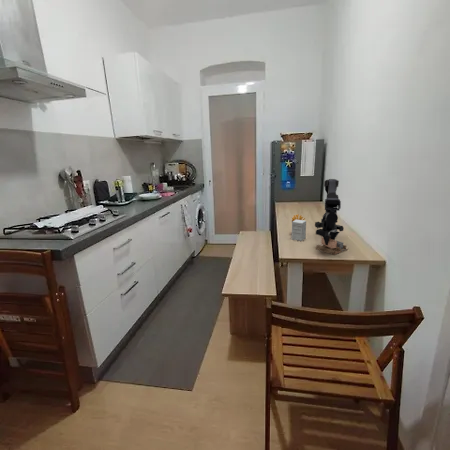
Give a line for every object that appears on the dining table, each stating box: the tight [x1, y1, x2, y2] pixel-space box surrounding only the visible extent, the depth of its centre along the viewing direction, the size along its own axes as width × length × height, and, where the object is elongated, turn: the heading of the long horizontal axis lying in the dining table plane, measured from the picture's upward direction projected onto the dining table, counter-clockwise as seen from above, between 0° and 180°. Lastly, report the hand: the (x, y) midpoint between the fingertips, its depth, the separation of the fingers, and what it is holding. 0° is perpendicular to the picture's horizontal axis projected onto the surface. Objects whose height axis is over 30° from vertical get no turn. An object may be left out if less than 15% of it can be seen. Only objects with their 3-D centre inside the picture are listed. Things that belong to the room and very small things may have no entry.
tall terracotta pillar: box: [320, 236, 338, 249], centre depth 153 cm, size 9×4×4 cm, turn 18°
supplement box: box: [291, 219, 307, 242], centre depth 175 cm, size 7×7×13 cm
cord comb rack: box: [315, 244, 349, 256], centre depth 155 cm, size 13×13×2 cm
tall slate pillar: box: [334, 239, 344, 250], centre depth 157 cm, size 9×4×4 cm, turn 33°
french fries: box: [291, 213, 306, 222], centre depth 184 cm, size 9×8×15 cm
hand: (328, 244), depth 153 cm, fingers closed on tall terracotta pillar, 4 cm apart
